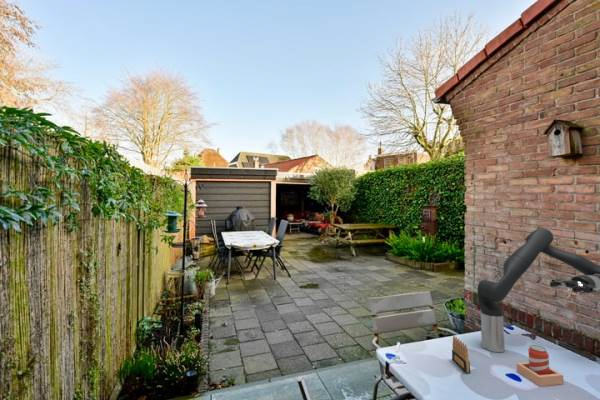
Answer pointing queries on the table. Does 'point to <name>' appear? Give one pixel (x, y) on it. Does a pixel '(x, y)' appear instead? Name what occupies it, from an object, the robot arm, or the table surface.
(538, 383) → the terracotta collar
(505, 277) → the robot arm
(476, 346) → the table surface
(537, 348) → the beverage can
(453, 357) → the ammunition clip
